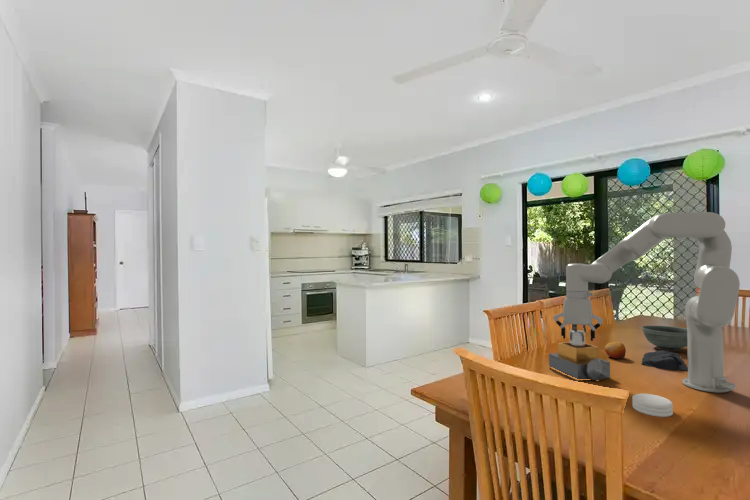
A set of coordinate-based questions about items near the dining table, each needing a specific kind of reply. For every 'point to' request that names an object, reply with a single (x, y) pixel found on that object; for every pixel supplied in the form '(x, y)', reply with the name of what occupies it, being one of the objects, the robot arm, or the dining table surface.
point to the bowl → (666, 337)
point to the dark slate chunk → (664, 360)
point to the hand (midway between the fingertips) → (577, 339)
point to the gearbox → (580, 362)
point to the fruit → (615, 350)
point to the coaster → (652, 405)
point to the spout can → (577, 337)
